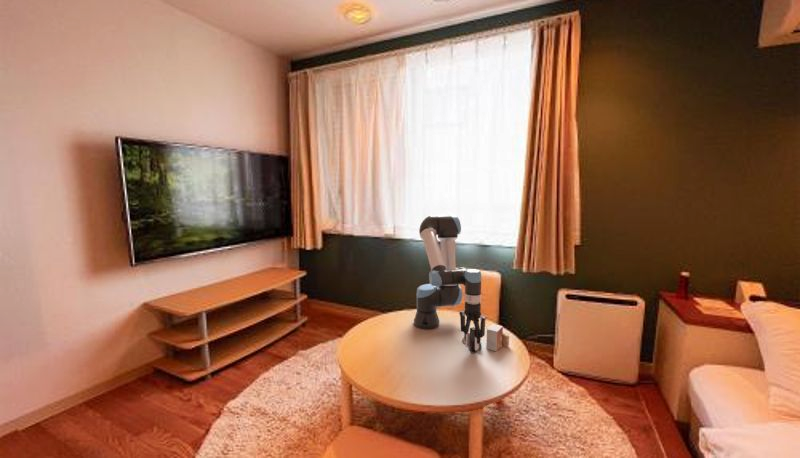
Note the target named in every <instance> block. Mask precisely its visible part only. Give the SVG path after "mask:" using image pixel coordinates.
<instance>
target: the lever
mask: <svg viewBox="0 0 800 458" xmlns="http://www.w3.org/2000/svg"><path fill="white" fill-rule="evenodd" d="M469 333H470V345H469V346H468V348H469V349H468V351H470V353H471V354H476V352H477V351H478V350H482V341H481V342H480V343H479V349H477V350H475V337H476V331H475V326H474V327H469ZM465 341H466V340H465Z"/></svg>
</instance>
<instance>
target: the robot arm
mask: <svg viewBox="0 0 800 458" xmlns="http://www.w3.org/2000/svg"><path fill="white" fill-rule="evenodd" d="M418 231H419V236H420V239H421V240H423V245H424V247H425V251H426V252H425V253H426V255H427V258H428V263H429V266H430V271H429V273H428V280H429V283H426V284H425V283H424V284H422V285H420V286H418V287H417V288H416V313H415V316H414V318H413V325H414V326H415V327H416V328H418V329H422V330H432V329H437V328H438V327H439V326H440V318H439V315H438V313H437V308H441V307H453V306H458V305H460V304H461V302H462V300H463V289H462V286H461V285H463V286H464V301H465V302H464V310H461V311H459V312H458V313H459V317H460V319H459V321H460V332H461V333H464V334H463V336H464V337H463V338H464V339H465V340H466V344H465V348H469V345H470V328H471V327H470V325H471V323H473V326H474V328H475V331H476V337H475V350H477V351H478V350H480V349H479V343H480V342H481V343H482V341H481V340H482V338H483V337H485V335H486V334H485V333H486V331H485V330H486V321H487V316H483V315H482V313H481V311H482V309H481V307H482V303H481V302H482V279H483V278H482V272H481V270H479V269H475V268H468V267H464V266H460V267H459V268H457V269H456V267H457V264H456V241H457V239H458V235H460V234H461V231H462V225H461V221H460V219H459V217H458V216H457V215H455V214H438V215H437V214H434V215H429V216H427V217H425V218H424V219H423V220H422V222H421V223H420V226H419V230H418ZM438 240H439V241H440V244H439V241H438Z"/></svg>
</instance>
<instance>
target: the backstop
mask: <svg viewBox="0 0 800 458" xmlns="http://www.w3.org/2000/svg"><path fill="white" fill-rule="evenodd" d="M509 345H510V335H509V334H507V333H505V332H503V335H502V346H503V347H505V348H509V347H510V346H509Z"/></svg>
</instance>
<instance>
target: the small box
mask: <svg viewBox="0 0 800 458" xmlns="http://www.w3.org/2000/svg"><path fill="white" fill-rule="evenodd" d="M503 330H504V326H502V325H498V324H495V323H492V324H491V325H490V326H489V327H488V328H486V344H485V345H486V349H488V350H490V351H493V352H494V351H495V352H498V350H500V348H501V347H502V346H503V345H502V335H503V333H504V332H503Z"/></svg>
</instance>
